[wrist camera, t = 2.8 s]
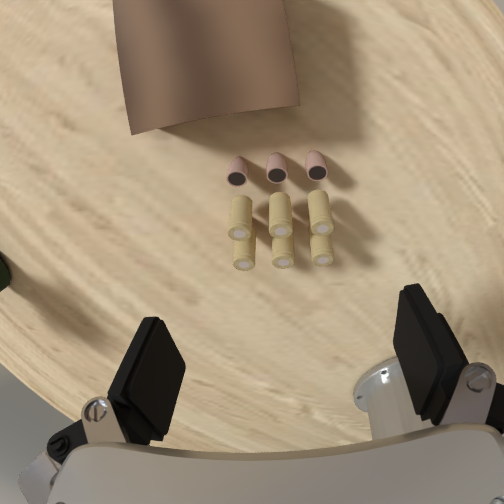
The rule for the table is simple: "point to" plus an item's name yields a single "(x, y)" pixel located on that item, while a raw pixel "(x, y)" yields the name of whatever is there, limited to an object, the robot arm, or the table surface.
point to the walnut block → (202, 59)
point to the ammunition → (280, 216)
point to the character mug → (4, 276)
